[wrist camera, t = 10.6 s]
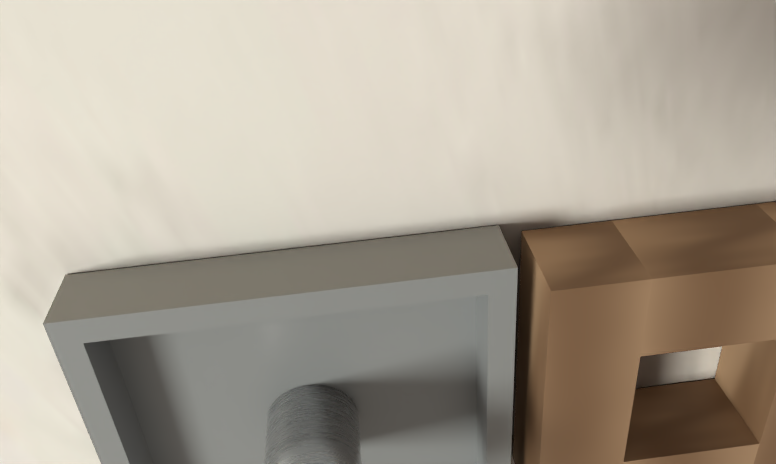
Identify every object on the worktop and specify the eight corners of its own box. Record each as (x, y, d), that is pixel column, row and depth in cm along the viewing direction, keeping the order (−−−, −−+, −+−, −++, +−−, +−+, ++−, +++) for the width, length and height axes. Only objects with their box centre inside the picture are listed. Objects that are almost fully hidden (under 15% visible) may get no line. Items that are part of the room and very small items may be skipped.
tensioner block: (843, 194, 22) (913, 247, 20) (772, 422, 28) (819, 487, 25) (521, 230, 22) (551, 291, 19) (513, 457, 27) (535, 527, 25)
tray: (498, 225, 22) (517, 267, 20) (494, 499, 28) (507, 550, 26) (65, 274, 21) (42, 323, 19) (166, 543, 28) (157, 598, 26)
